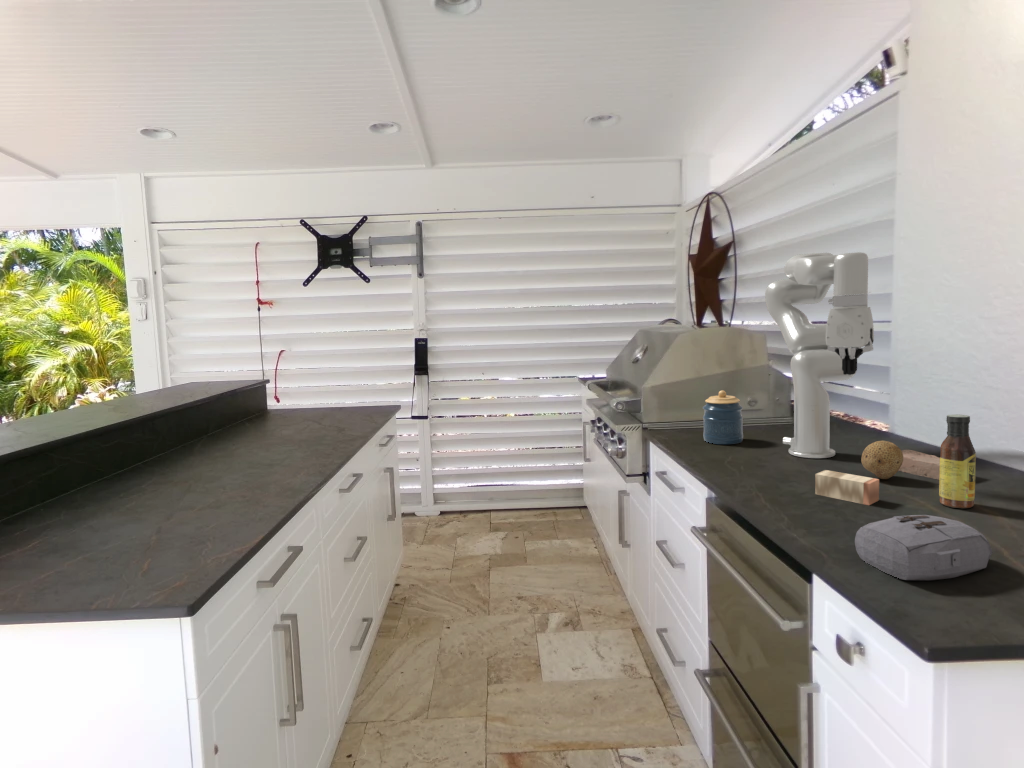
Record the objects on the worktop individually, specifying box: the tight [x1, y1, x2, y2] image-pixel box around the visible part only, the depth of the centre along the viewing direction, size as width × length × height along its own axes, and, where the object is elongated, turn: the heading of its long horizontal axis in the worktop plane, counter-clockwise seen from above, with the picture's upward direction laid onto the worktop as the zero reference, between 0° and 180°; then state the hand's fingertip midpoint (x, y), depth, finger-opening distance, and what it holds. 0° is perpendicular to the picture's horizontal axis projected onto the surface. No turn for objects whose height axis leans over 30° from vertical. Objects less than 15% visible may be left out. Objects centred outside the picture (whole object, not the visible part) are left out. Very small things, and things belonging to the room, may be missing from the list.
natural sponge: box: [860, 440, 903, 480], centre depth 148 cm, size 9×9×10 cm
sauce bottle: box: [938, 414, 977, 509], centre depth 127 cm, size 7×6×20 cm
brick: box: [898, 449, 940, 481], centre depth 152 cm, size 17×8×5 cm, turn 23°
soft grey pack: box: [854, 514, 993, 581], centre depth 101 cm, size 15×8×20 cm
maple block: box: [814, 469, 880, 506], centre depth 137 cm, size 5×5×12 cm
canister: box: [702, 389, 744, 445], centre depth 200 cm, size 13×13×18 cm
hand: (849, 373), depth 150 cm, fingers closed
